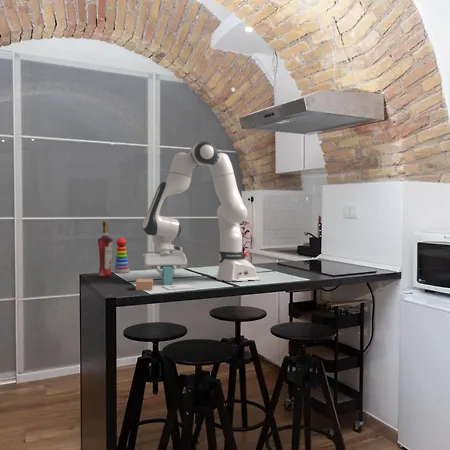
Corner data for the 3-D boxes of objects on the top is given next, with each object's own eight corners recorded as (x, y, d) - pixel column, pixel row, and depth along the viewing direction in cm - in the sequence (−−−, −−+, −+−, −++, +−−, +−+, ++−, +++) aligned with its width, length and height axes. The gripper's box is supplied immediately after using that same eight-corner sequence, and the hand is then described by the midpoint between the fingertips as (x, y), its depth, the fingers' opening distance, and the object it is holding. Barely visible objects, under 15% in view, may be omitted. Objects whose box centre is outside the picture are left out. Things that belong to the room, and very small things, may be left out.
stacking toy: (123, 270, 263) (123, 237, 262) (132, 272, 258) (132, 238, 257) (111, 272, 257) (111, 237, 256) (120, 273, 252) (120, 238, 251)
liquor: (102, 275, 246) (102, 221, 244) (115, 276, 243) (115, 221, 242) (94, 277, 239) (94, 221, 237) (107, 278, 236) (107, 222, 235)
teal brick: (170, 283, 223) (170, 266, 223) (172, 285, 220) (172, 267, 219) (162, 283, 222) (162, 266, 222) (163, 285, 218) (164, 268, 218)
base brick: (153, 287, 212) (153, 279, 212) (152, 290, 205) (152, 281, 205) (137, 288, 212) (137, 279, 211) (135, 290, 205) (135, 281, 205)
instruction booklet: (186, 285, 220) (186, 283, 220) (194, 288, 212) (194, 286, 212) (161, 286, 215) (161, 285, 215) (168, 289, 207) (168, 288, 207)
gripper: (143, 247, 223) (146, 271, 215) (185, 247, 230) (190, 270, 221) (141, 256, 228) (144, 279, 219) (182, 255, 234) (187, 278, 225)
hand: (167, 274), depth 220 cm, fingers closed on teal brick, 4 cm apart
